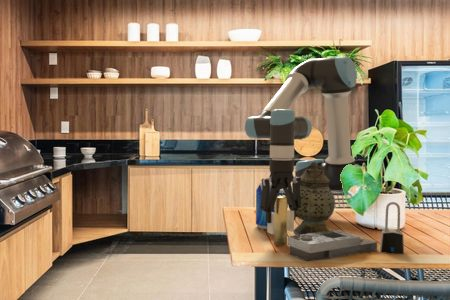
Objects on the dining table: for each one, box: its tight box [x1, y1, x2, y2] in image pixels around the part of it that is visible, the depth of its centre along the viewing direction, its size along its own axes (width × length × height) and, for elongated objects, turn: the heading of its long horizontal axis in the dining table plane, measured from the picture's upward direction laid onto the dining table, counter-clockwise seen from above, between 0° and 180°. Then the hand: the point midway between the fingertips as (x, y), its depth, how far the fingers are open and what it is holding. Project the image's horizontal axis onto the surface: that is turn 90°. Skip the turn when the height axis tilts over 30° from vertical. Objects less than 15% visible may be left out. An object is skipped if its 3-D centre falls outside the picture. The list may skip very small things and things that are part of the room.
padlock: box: [379, 201, 405, 255], centre depth 137 cm, size 7×4×15 cm, turn 75°
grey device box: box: [287, 229, 378, 262], centre depth 136 cm, size 26×10×6 cm, turn 119°
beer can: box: [255, 182, 280, 230], centre depth 168 cm, size 8×8×16 cm
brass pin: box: [273, 195, 288, 247], centre depth 144 cm, size 4×4×15 cm
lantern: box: [293, 162, 336, 235], centre depth 159 cm, size 14×14×25 cm
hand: (280, 231), depth 144 cm, fingers open, 7 cm apart
